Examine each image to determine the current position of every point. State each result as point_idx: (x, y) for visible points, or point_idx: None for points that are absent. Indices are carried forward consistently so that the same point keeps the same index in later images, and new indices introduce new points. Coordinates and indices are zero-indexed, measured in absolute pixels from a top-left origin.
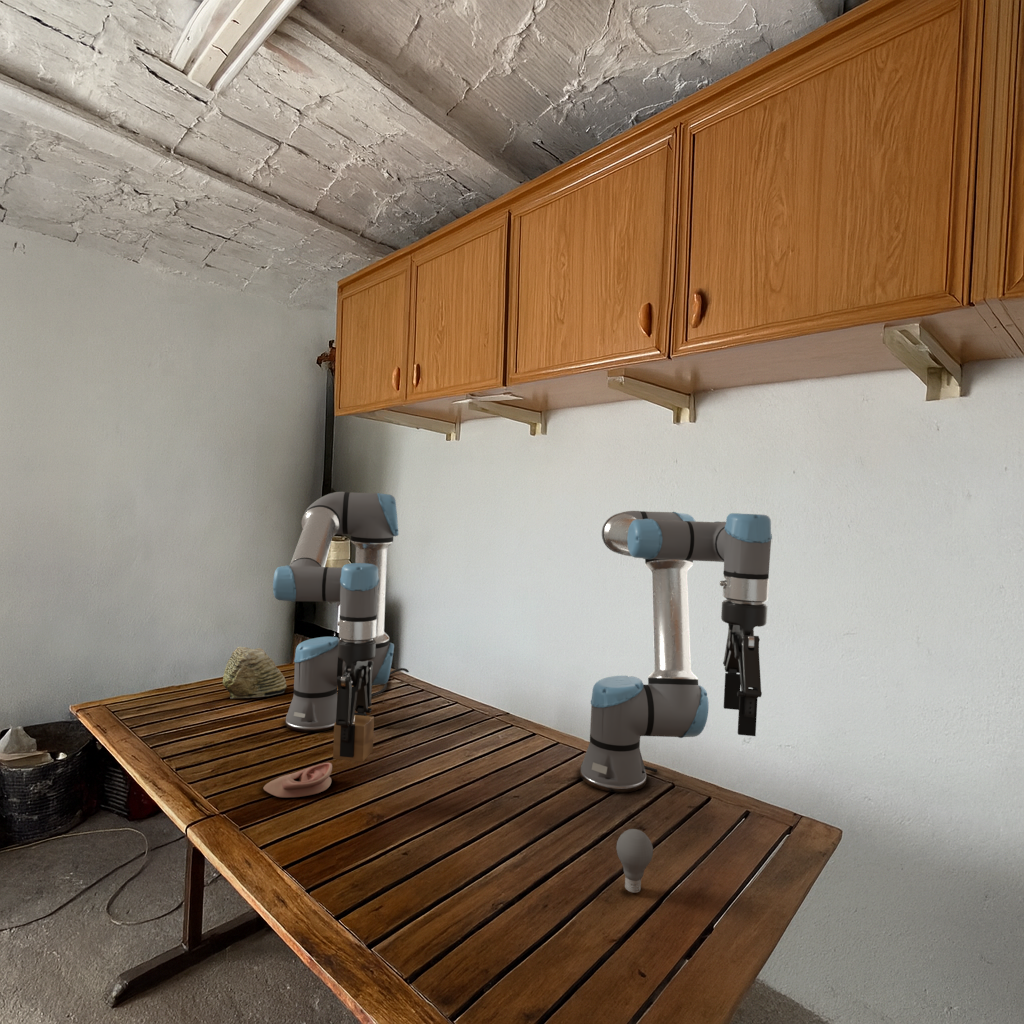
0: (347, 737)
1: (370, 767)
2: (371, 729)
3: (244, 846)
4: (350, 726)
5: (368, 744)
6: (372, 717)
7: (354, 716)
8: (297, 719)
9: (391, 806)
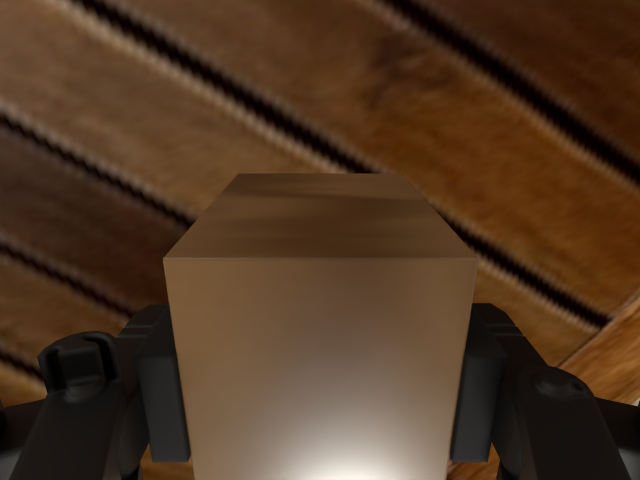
0: (514, 329)
1: (37, 230)
2: (256, 218)
3: (597, 362)
4: (501, 376)
5: (318, 191)
6: (192, 267)
7: (233, 430)
8: None
9: (305, 35)
